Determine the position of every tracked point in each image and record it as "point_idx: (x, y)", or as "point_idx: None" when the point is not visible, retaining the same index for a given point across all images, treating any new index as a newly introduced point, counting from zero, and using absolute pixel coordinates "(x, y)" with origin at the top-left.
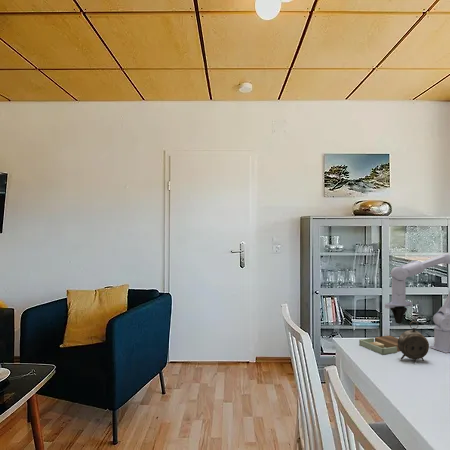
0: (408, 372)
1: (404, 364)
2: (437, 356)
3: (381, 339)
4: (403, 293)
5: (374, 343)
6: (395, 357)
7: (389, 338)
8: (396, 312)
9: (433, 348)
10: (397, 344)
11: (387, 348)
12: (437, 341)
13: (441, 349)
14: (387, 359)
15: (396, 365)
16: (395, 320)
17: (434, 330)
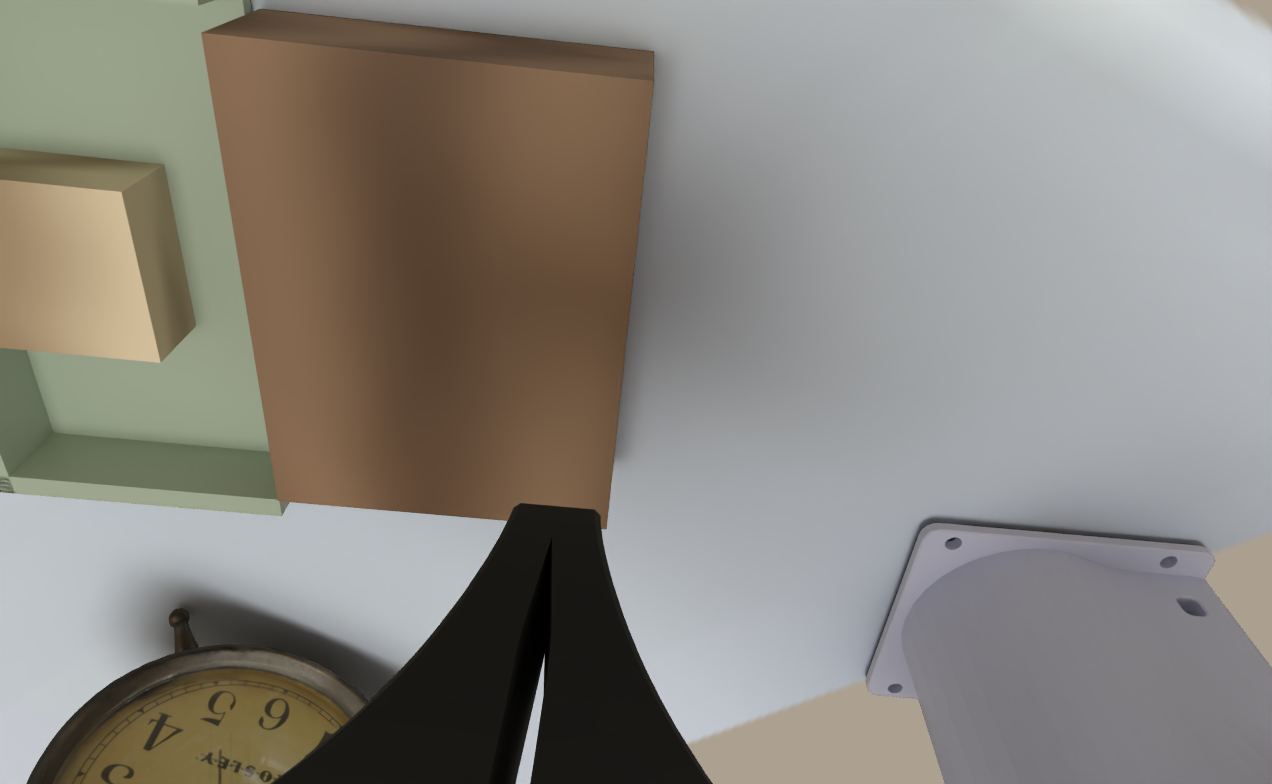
0: (28, 776)
1: None
2: (675, 692)
3: (247, 208)
4: None
5: (11, 253)
6: (166, 545)
7: (462, 232)
8: None
9: (904, 575)
10: (329, 496)
11: (86, 499)
12: (933, 698)
13: (905, 655)
14: (18, 546)
15: (16, 668)
16: (501, 544)
17: (1044, 782)
